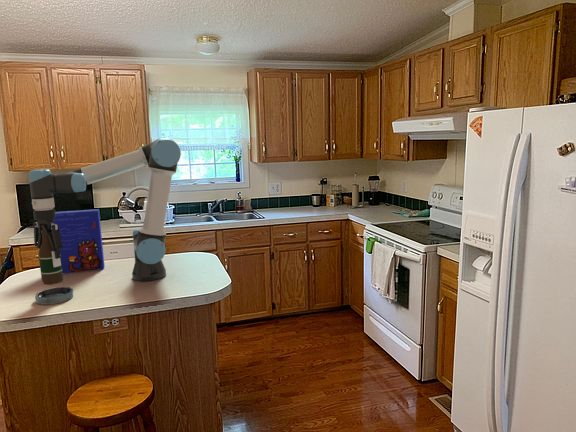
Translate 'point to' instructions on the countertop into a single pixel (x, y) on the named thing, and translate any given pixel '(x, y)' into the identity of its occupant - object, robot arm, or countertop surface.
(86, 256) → the cereal box
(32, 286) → the countertop surface
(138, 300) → the countertop surface
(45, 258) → the beer bottle
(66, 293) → the dark grey shallow dish
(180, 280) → the countertop surface
